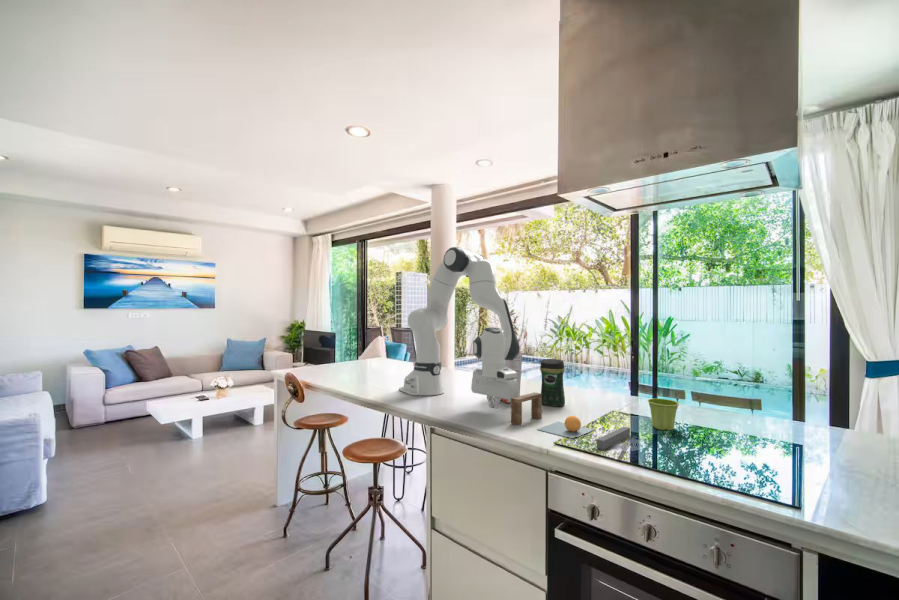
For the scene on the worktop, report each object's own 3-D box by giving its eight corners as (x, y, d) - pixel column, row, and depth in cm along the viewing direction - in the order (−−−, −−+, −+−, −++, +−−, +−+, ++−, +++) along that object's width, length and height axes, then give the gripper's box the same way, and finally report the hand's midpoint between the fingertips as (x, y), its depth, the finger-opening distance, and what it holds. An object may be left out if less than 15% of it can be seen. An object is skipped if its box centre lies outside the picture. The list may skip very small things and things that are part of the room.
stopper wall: (596, 448, 116) (596, 439, 116) (623, 434, 128) (623, 426, 128) (603, 449, 114) (603, 440, 114) (630, 436, 127) (630, 427, 127)
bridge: (511, 423, 140) (511, 398, 140) (534, 416, 149) (534, 392, 150) (518, 425, 138) (518, 399, 138) (541, 417, 147) (541, 393, 147)
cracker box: (492, 396, 181) (495, 348, 182) (504, 396, 183) (507, 349, 184) (506, 403, 168) (510, 352, 169) (519, 403, 170) (523, 352, 171)
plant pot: (684, 428, 135) (684, 402, 135) (671, 434, 129) (671, 406, 129) (655, 422, 142) (655, 397, 143) (642, 427, 137) (642, 401, 137)
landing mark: (536, 429, 133) (536, 429, 133) (558, 422, 142) (558, 421, 142) (573, 439, 124) (573, 438, 124) (593, 430, 133) (593, 429, 133)
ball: (560, 416, 131) (574, 417, 128) (568, 414, 135) (582, 414, 131) (562, 432, 131) (577, 434, 127) (570, 429, 134) (584, 430, 131)
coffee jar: (566, 403, 169) (566, 358, 170) (562, 408, 162) (562, 360, 163) (543, 401, 174) (543, 357, 174) (538, 405, 167) (538, 359, 167)
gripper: (467, 369, 160) (467, 404, 159) (509, 375, 145) (510, 414, 145) (478, 367, 164) (478, 402, 164) (520, 373, 149) (520, 411, 149)
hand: (493, 408), depth 154 cm, fingers closed
